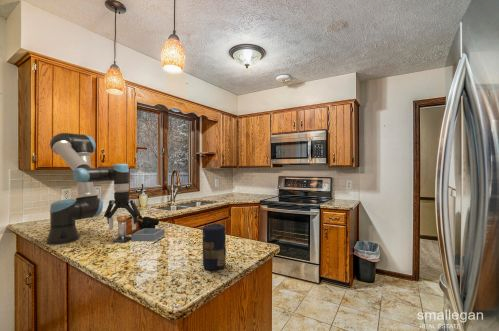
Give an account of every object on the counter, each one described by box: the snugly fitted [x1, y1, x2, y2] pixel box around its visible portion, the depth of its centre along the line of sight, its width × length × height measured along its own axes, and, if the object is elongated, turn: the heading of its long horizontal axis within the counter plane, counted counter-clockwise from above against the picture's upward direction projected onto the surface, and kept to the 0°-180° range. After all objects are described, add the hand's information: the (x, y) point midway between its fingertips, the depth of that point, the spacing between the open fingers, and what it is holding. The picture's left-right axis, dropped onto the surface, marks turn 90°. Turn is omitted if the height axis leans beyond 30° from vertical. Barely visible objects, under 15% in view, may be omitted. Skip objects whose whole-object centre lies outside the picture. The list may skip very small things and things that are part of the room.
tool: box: [126, 214, 160, 237], centre depth 157 cm, size 8×23×15 cm, turn 142°
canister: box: [202, 223, 227, 271], centre depth 103 cm, size 10×10×18 cm
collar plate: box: [107, 236, 131, 244], centre depth 138 cm, size 10×10×2 cm
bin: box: [130, 228, 166, 245], centre depth 142 cm, size 13×13×5 cm
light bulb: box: [116, 215, 128, 240], centre depth 138 cm, size 5×5×13 cm
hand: (122, 229), depth 138 cm, fingers open, 13 cm apart
